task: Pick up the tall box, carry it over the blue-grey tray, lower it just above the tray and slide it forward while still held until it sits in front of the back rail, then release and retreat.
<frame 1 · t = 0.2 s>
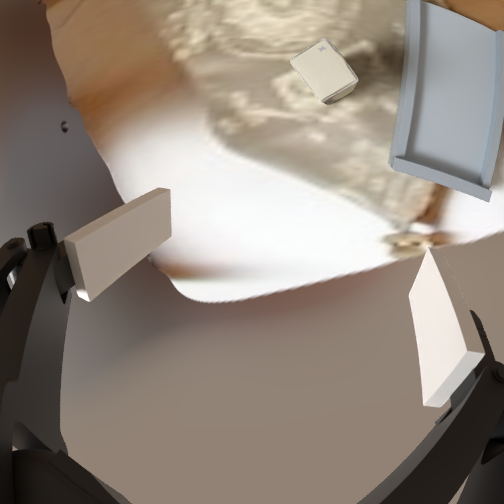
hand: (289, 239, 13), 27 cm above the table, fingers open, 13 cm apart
box: (331, 83, 31), on the table
blue-grey tray: (449, 93, 26), on the table
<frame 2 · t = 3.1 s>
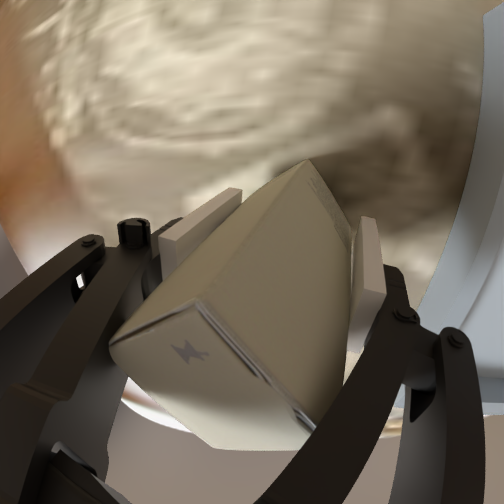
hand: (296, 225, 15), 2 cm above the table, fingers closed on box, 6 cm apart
box: (304, 212, 17), on the table, touching gripper
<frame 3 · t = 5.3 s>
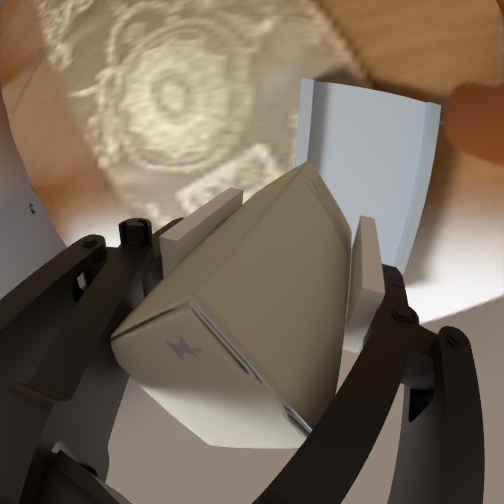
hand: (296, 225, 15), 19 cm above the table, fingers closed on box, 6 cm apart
box: (305, 213, 17), point 17 cm above the table, touching gripper
blue-grey tray: (357, 193, 31), on the table
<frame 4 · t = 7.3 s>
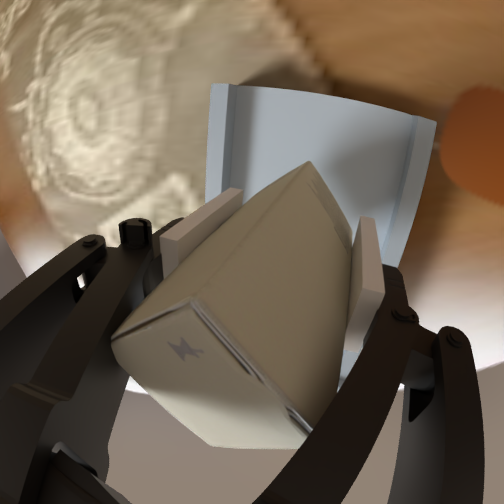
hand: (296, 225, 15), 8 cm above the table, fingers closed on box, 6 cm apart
box: (305, 213, 17), point 5 cm above the table, touching gripper
blue-grey tray: (303, 245, 24), on the table
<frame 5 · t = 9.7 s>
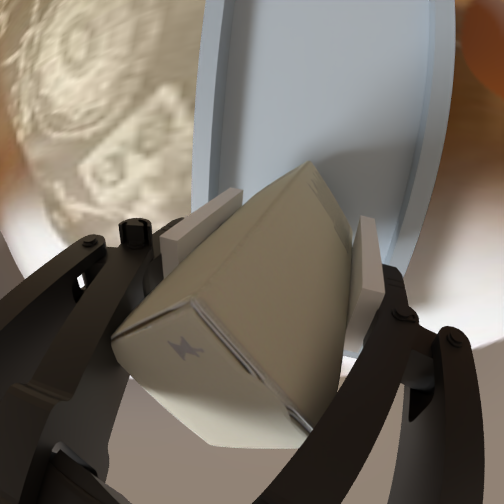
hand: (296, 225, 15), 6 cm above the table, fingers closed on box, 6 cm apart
box: (306, 213, 17), point 3 cm above the table, touching gripper
blue-grey tray: (317, 153, 18), on the table
when the fingers open (5 cm above the table, at t = 11.6 s): box stays where it is, resting on blue-grey tray.
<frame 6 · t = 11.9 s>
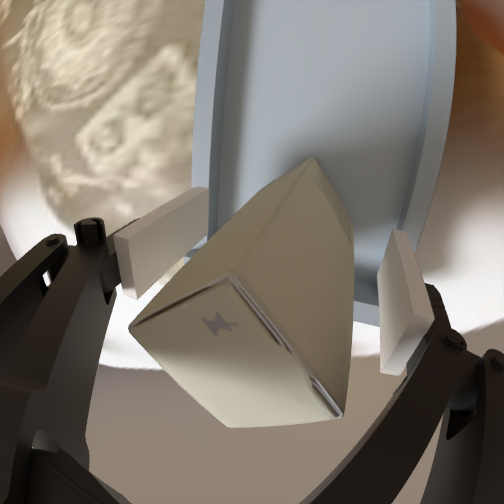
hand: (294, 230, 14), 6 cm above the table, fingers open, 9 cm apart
box: (308, 208, 18), point 2 cm above the table, touching blue-grey tray
blue-grey tray: (324, 104, 16), on the table
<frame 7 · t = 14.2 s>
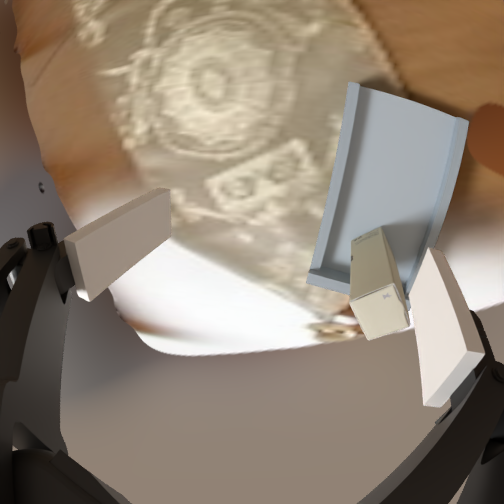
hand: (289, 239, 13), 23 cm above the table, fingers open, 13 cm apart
box: (374, 250, 33), point 2 cm above the table, touching blue-grey tray
blue-grey tray: (385, 195, 32), on the table
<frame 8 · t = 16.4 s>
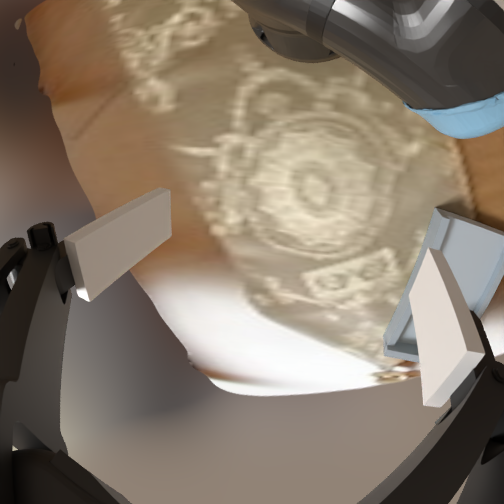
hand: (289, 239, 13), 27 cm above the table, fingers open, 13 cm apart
blue-grey tray: (445, 289, 38), on the table
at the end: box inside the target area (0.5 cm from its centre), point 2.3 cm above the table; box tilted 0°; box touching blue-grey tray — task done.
